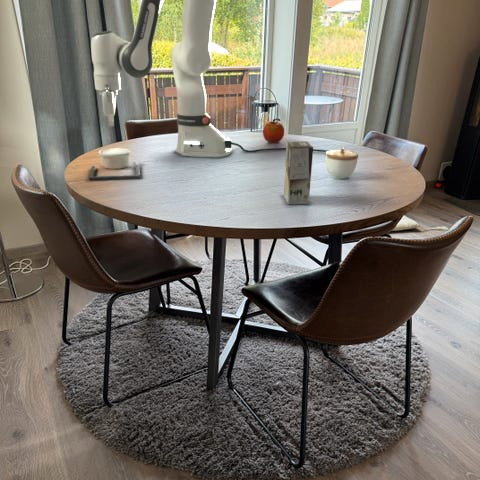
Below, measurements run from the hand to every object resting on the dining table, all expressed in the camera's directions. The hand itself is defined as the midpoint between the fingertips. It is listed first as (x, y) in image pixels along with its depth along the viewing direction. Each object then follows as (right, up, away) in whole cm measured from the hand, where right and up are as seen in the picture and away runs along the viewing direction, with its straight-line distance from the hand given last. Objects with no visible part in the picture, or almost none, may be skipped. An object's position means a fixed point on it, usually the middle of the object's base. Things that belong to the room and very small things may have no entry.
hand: (111, 125), depth 182 cm
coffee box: (+64, -36, -34) cm, 81 cm away
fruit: (+62, +7, +37) cm, 72 cm away
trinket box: (+82, -22, -11) cm, 85 cm away
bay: (+4, -21, -11) cm, 24 cm away
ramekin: (+2, -16, -2) cm, 16 cm away
